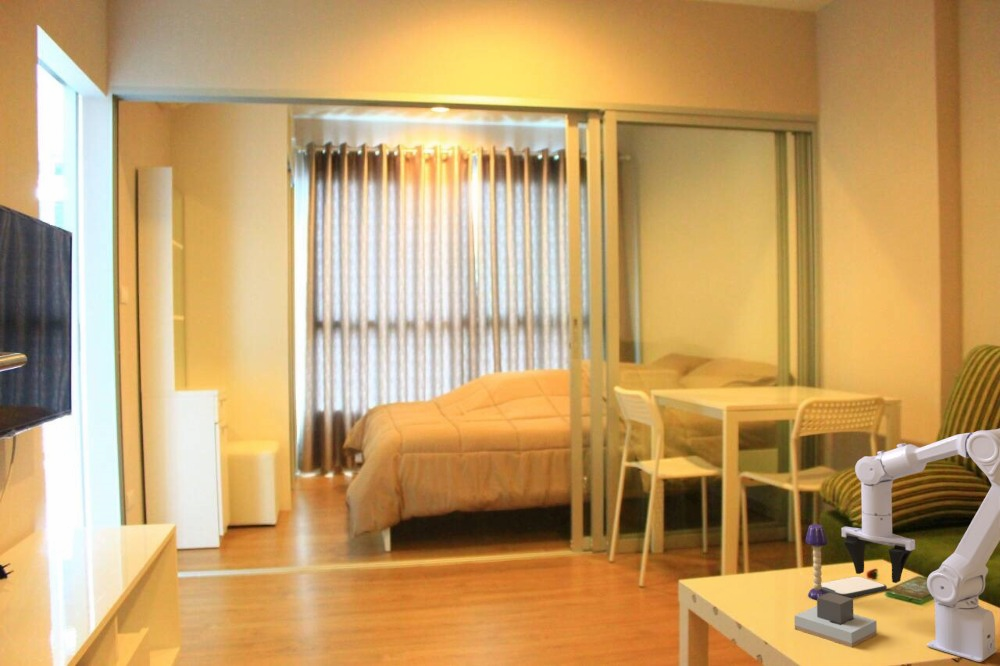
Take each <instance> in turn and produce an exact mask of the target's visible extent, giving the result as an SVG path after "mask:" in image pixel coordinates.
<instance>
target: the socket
mask: <svg viewBox="0 0 1000 666" xmlns="http://www.w3.org/2000/svg"><path fill="white" fill-rule="evenodd" d="M877 629H878V628H877V620H876V619H872V618H869V617H865V616H861V615H858V614H855V613H853V619H851V620H850V621H847V622H845V623H843V624H841V625H838V624H835V622H832V621H828V620H825V619H822V618H818V617H817V605H816V606H813V607H811V608H808V609H806V610H804V611H802V612H800V613H799V612H798V613H797V614H795V615H794V630H797V631H801V632H803V633H806V634H809V635H812V636H815V637H819V638H822V639H825V640H827V641H831V642H834V643H837V644H840V645H843V646H846V647H850V648H853V647H855V646H857V645H859V644H861V643H863V642H864V641H866V640H868V639H871V638H873V637H874V636H876V635H877V633H878V632H877V631H878V630H877Z"/></svg>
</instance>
